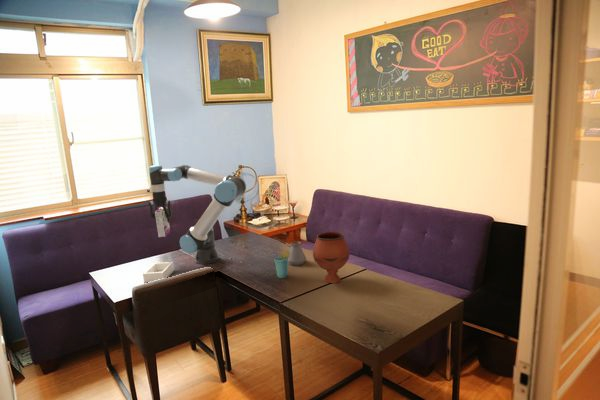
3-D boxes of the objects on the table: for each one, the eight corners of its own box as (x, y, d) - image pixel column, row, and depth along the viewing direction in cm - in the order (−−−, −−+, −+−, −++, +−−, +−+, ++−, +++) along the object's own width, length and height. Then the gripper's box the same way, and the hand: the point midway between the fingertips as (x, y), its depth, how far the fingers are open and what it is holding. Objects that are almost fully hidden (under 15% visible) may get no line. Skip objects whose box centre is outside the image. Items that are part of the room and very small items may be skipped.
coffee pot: (309, 261, 248) (308, 237, 245) (300, 267, 238) (298, 243, 235) (280, 257, 259) (278, 234, 256) (270, 263, 249) (268, 239, 246)
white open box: (174, 270, 246) (173, 261, 245) (164, 281, 229) (162, 272, 228) (155, 271, 247) (154, 262, 246) (144, 282, 230) (142, 273, 229)
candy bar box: (162, 232, 257) (159, 207, 254) (170, 232, 257) (167, 206, 254) (157, 237, 246) (154, 211, 243) (165, 236, 246) (162, 210, 243)
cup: (277, 282, 218) (275, 256, 215) (267, 279, 223) (265, 253, 220) (294, 274, 229) (292, 248, 226) (284, 271, 234) (282, 246, 231)
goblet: (348, 272, 226) (346, 229, 221) (352, 286, 208) (350, 239, 203) (314, 274, 227) (311, 230, 222) (314, 288, 208) (311, 241, 203)
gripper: (175, 189, 250) (180, 225, 254) (146, 190, 250) (151, 227, 255) (171, 191, 242) (176, 228, 247) (141, 192, 243) (146, 230, 248)
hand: (163, 227), depth 251 cm, fingers closed on candy bar box, 5 cm apart
